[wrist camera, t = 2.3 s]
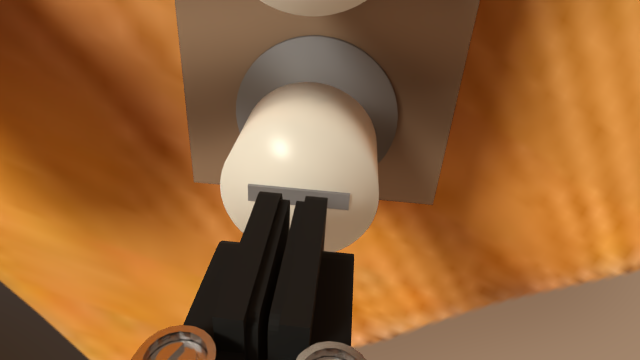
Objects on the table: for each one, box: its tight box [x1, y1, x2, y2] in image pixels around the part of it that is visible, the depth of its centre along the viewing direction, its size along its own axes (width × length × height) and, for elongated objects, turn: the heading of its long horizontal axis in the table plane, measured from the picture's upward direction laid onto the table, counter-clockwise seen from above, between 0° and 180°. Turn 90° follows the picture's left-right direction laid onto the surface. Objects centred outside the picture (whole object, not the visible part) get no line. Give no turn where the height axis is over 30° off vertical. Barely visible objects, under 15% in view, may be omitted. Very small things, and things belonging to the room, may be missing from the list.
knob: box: [220, 82, 379, 252], centre depth 14 cm, size 4×4×3 cm
